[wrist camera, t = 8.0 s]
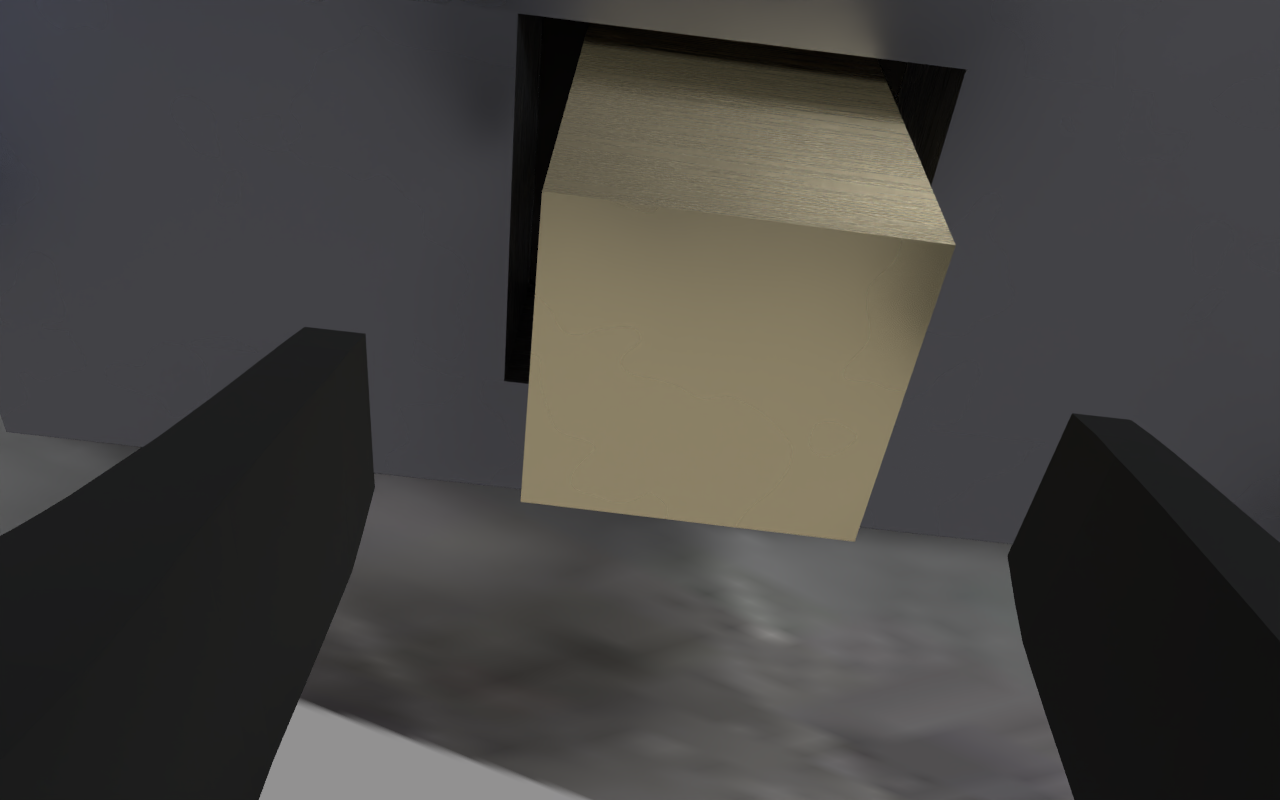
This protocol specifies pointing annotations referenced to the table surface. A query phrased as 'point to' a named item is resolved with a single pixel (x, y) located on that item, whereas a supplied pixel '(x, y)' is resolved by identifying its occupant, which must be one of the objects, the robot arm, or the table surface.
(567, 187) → the brass peg
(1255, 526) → the robot arm
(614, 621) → the table surface
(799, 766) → the table surface
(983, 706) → the table surface
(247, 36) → the dark grey slotted block
